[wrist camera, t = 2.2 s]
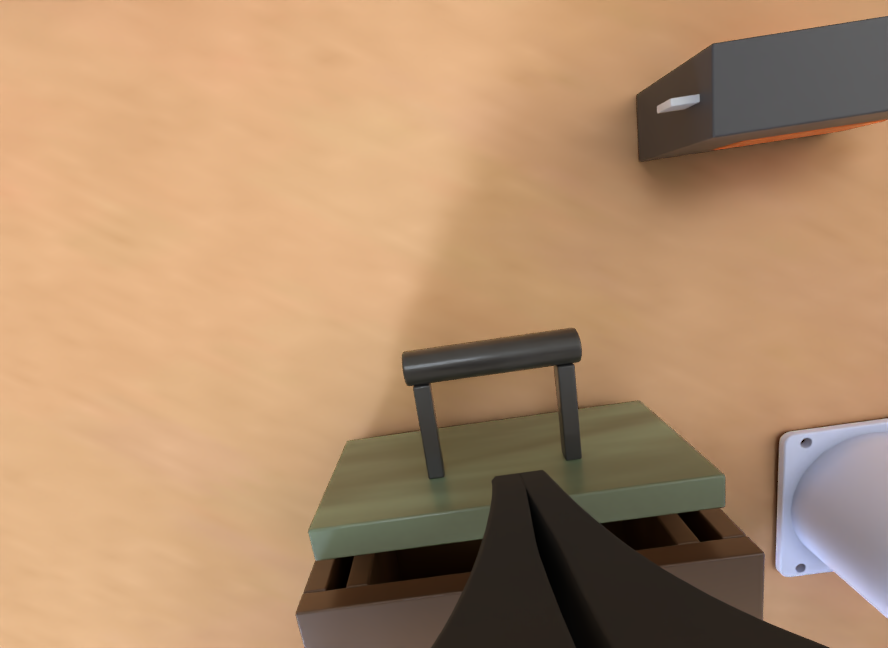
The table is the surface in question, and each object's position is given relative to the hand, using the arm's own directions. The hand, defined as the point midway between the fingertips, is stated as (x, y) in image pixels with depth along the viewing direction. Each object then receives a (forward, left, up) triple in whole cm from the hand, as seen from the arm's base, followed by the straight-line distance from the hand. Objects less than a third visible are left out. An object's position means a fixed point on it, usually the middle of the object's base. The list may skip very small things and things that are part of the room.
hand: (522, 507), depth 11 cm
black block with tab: (-12, -10, -9) cm, 18 cm away
